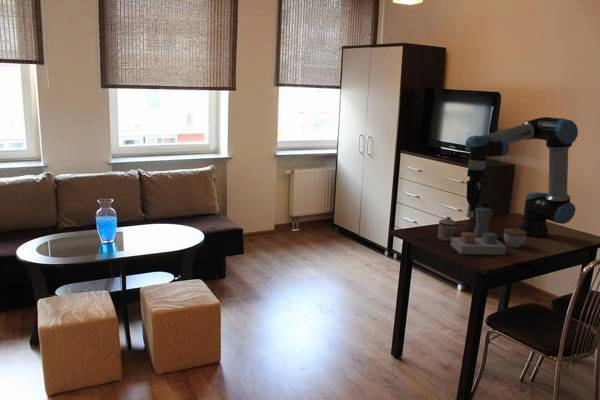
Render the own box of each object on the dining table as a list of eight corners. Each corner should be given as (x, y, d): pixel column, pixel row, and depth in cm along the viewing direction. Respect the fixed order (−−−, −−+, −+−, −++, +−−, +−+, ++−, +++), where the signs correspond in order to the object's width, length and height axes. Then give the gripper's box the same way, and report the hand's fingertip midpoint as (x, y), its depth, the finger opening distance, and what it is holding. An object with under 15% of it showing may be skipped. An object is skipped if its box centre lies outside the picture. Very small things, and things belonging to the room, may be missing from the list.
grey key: (491, 241, 260) (492, 232, 259) (496, 244, 255) (497, 235, 254) (482, 241, 259) (483, 232, 258) (486, 244, 254) (487, 235, 253)
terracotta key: (470, 241, 259) (471, 232, 258) (474, 244, 254) (475, 235, 253) (460, 240, 258) (461, 232, 257) (464, 244, 253) (465, 235, 252)
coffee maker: (495, 238, 277) (500, 205, 273) (482, 239, 274) (486, 206, 270) (477, 230, 291) (481, 199, 287) (464, 231, 288) (467, 199, 284)
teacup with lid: (445, 242, 267) (448, 220, 265) (433, 237, 275) (435, 215, 272) (463, 239, 273) (465, 218, 270) (450, 234, 281) (452, 213, 278)
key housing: (492, 245, 265) (493, 237, 264) (505, 254, 251) (506, 246, 251) (450, 244, 263) (451, 237, 262) (461, 254, 249) (462, 246, 248)
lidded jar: (522, 250, 259) (525, 232, 257) (500, 246, 264) (502, 228, 262) (526, 245, 268) (529, 227, 266) (504, 241, 273) (507, 223, 271)
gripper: (463, 166, 254) (457, 213, 259) (474, 171, 241) (467, 220, 246) (478, 166, 254) (472, 214, 260) (490, 171, 242) (483, 221, 247)
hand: (470, 217), depth 253 cm, fingers closed
